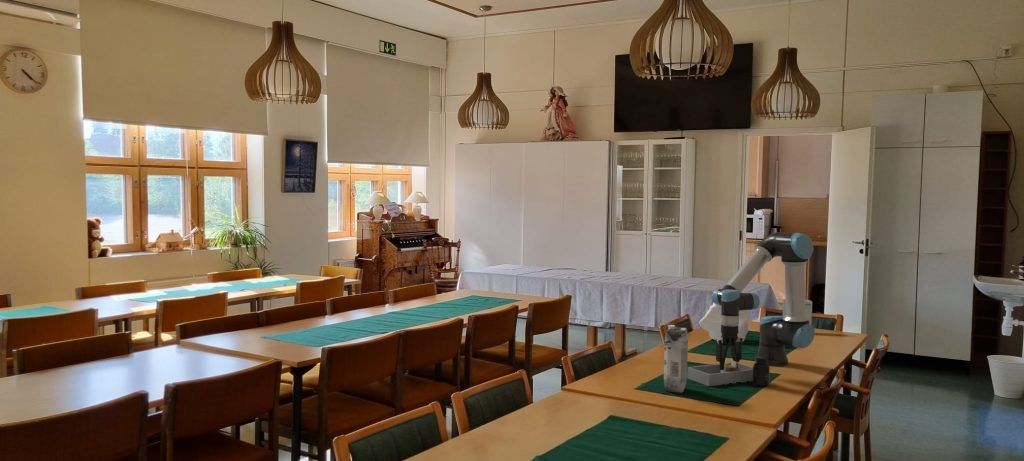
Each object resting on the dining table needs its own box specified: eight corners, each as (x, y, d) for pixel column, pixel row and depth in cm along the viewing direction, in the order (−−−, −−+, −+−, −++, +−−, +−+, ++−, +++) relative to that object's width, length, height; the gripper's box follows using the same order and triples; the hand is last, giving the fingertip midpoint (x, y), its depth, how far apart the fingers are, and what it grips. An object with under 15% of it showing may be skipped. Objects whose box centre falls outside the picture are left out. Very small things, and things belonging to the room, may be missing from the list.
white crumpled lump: (744, 346, 395) (746, 299, 394) (697, 339, 411) (698, 295, 410) (756, 340, 412) (757, 295, 411) (710, 334, 428) (711, 291, 427)
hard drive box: (784, 333, 435) (785, 300, 434) (781, 331, 442) (782, 298, 442) (811, 334, 432) (812, 301, 432) (808, 332, 440) (809, 299, 439)
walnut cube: (728, 375, 325) (729, 364, 325) (736, 378, 320) (736, 367, 320) (720, 376, 323) (720, 365, 323) (727, 379, 318) (728, 368, 318)
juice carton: (687, 387, 305) (688, 324, 304) (684, 394, 295) (686, 328, 294) (665, 385, 308) (667, 323, 307) (662, 391, 298) (664, 327, 297)
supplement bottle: (770, 387, 308) (771, 359, 307) (753, 386, 309) (754, 358, 308) (768, 383, 314) (768, 356, 314) (751, 382, 316) (752, 355, 315)
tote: (735, 372, 333) (736, 362, 333) (758, 380, 319) (759, 369, 319) (687, 378, 321) (687, 367, 321) (708, 386, 308) (709, 374, 308)
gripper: (739, 322, 328) (738, 372, 329) (707, 324, 320) (706, 376, 321) (751, 324, 321) (750, 376, 322) (719, 327, 313) (717, 380, 314)
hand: (728, 376), depth 322 cm, fingers open, 5 cm apart
